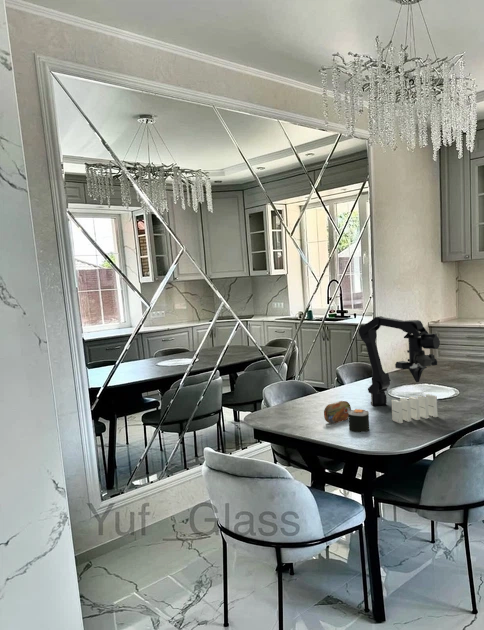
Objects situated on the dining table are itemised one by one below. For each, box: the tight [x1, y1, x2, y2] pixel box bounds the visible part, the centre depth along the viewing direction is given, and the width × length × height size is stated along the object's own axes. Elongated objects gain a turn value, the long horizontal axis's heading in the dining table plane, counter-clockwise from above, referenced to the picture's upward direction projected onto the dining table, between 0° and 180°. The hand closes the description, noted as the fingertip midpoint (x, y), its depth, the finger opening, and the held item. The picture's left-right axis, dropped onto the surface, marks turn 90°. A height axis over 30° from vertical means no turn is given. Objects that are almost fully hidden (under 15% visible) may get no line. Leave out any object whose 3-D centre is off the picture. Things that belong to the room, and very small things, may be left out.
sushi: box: [348, 408, 370, 433], centre depth 199 cm, size 8×8×8 cm
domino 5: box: [425, 393, 438, 418], centre depth 212 cm, size 2×5×9 cm, turn 18°
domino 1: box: [391, 399, 404, 424], centre depth 206 cm, size 2×5×9 cm, turn 18°
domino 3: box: [408, 396, 421, 421], centre depth 209 cm, size 2×5×9 cm, turn 17°
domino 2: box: [399, 397, 412, 423], centre depth 208 cm, size 2×5×9 cm, turn 17°
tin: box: [323, 400, 352, 425], centre depth 213 cm, size 15×3×8 cm, turn 126°
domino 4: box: [417, 395, 430, 420], centre depth 211 cm, size 2×5×9 cm, turn 17°
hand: (417, 382), depth 219 cm, fingers closed
